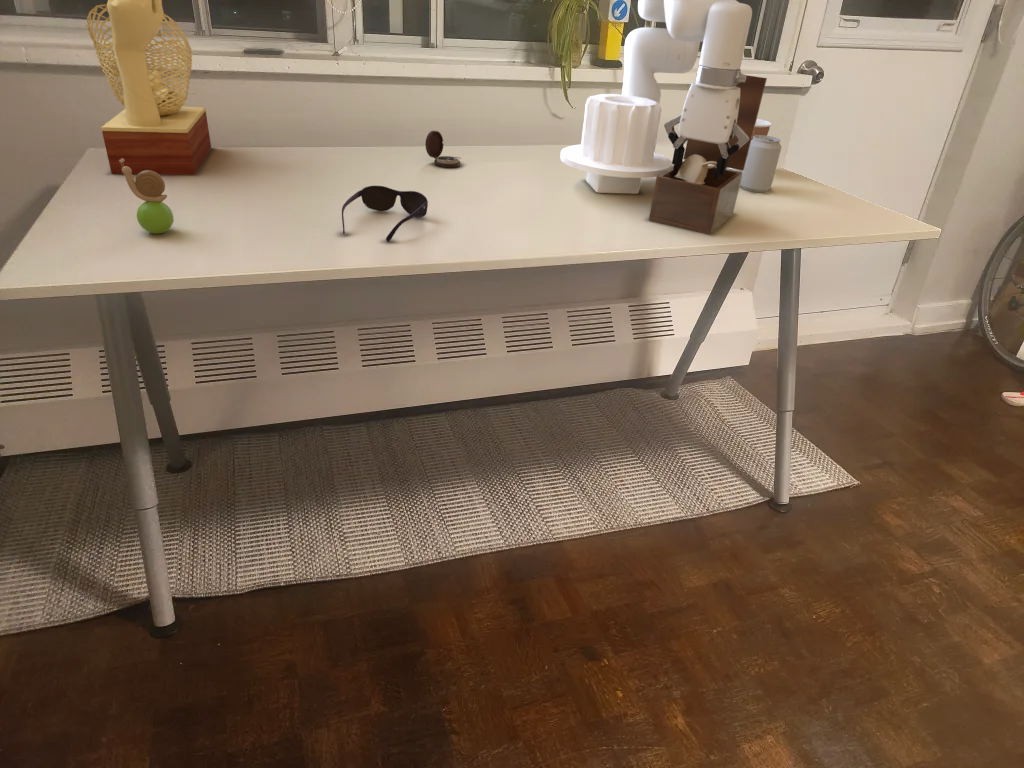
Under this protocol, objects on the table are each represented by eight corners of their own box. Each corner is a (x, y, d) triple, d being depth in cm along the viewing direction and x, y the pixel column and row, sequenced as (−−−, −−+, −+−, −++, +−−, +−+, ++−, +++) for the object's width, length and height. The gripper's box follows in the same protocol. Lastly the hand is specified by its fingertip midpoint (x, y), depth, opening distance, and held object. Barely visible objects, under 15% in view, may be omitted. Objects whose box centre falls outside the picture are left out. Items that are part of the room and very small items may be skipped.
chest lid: (766, 78, 137) (772, 78, 142) (702, 69, 143) (710, 69, 147) (742, 170, 145) (749, 167, 150) (683, 158, 151) (691, 156, 155)
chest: (710, 234, 138) (720, 189, 133) (648, 220, 143) (656, 176, 138) (732, 214, 151) (742, 172, 146) (675, 201, 156) (683, 160, 151)
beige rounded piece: (688, 176, 146) (694, 149, 143) (715, 188, 139) (721, 161, 137) (673, 177, 144) (678, 150, 141) (699, 190, 138) (705, 162, 135)
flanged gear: (682, 204, 154) (700, 113, 144) (572, 202, 150) (582, 108, 140) (645, 173, 175) (659, 92, 165) (547, 171, 171) (555, 87, 161)
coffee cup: (745, 163, 192) (756, 117, 186) (768, 173, 184) (780, 125, 178) (713, 163, 189) (723, 116, 183) (734, 174, 181) (746, 125, 175)
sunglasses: (432, 217, 135) (433, 191, 132) (403, 244, 122) (403, 216, 119) (366, 208, 137) (365, 182, 135) (330, 233, 124) (328, 205, 121)
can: (771, 195, 166) (785, 142, 160) (739, 191, 167) (751, 138, 161) (768, 186, 172) (781, 136, 166) (737, 183, 173) (749, 132, 167)
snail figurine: (141, 226, 121) (126, 154, 114) (180, 227, 121) (167, 156, 115) (129, 237, 116) (112, 163, 110) (169, 238, 117) (156, 165, 110)
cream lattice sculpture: (195, 177, 147) (163, -16, 129) (100, 175, 143) (54, -23, 125) (213, 148, 168) (188, -22, 149) (131, 146, 164) (95, -28, 146)
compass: (450, 169, 166) (451, 137, 162) (423, 163, 169) (423, 131, 165) (470, 163, 172) (471, 132, 168) (443, 157, 175) (444, 126, 171)
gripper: (768, 82, 130) (745, 177, 140) (678, 69, 137) (662, 160, 146) (759, 86, 125) (735, 185, 134) (665, 72, 132) (649, 167, 141)
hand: (697, 172), depth 140 cm, fingers closed on beige rounded piece, 7 cm apart
